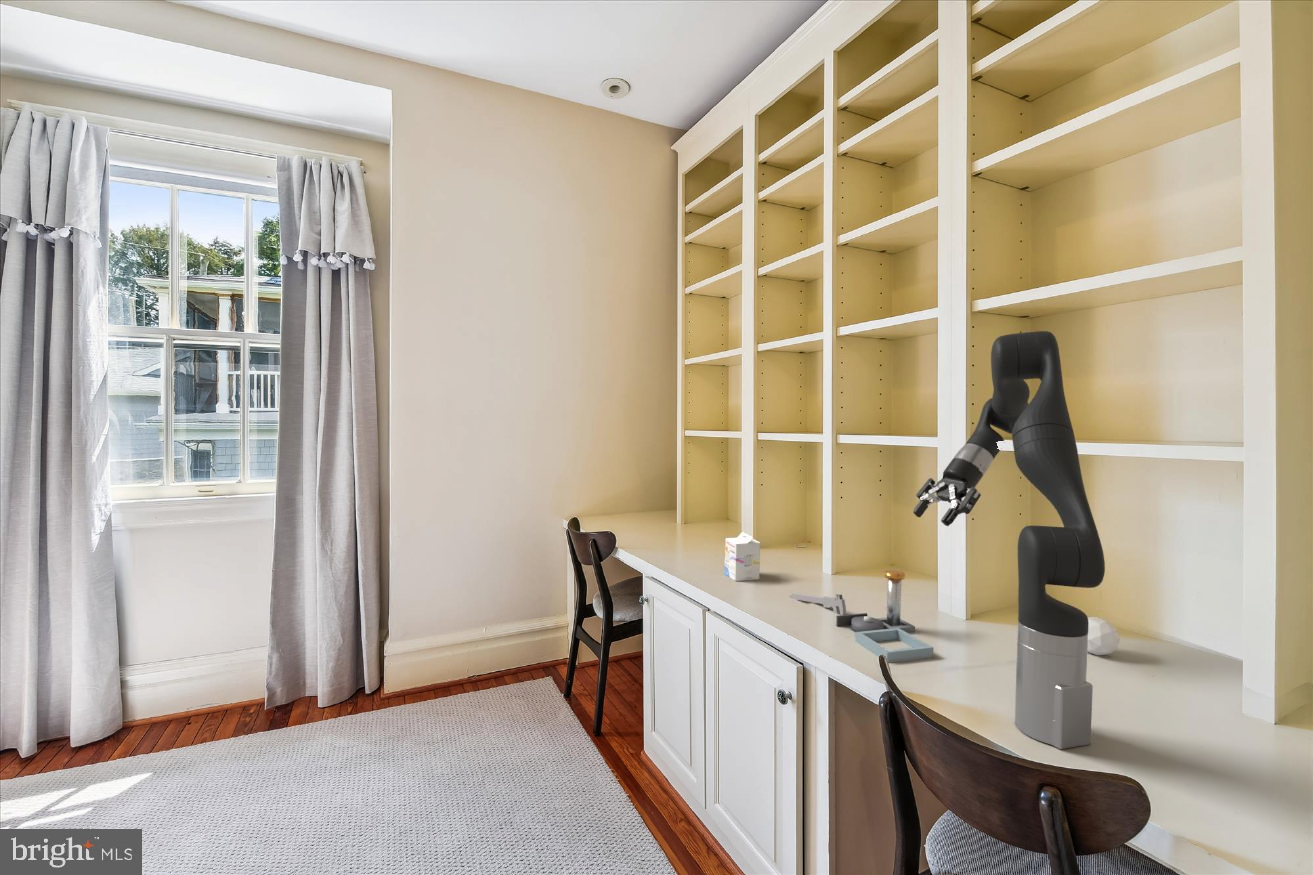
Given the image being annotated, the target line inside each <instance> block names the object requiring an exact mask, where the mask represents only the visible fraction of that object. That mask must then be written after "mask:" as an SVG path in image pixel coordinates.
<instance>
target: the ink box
mask: <svg viewBox="0 0 1313 875" xmlns="http://www.w3.org/2000/svg"><path fill="white" fill-rule="evenodd" d="M760 559H761V542H760V541H758V540H756V539H754V538H753V536H751V535H750V534H747V533H746V532H743V531H742V532H741V533H740V534H739V535H738V536H737V537H726V538H725V547H724V575H725V576H727V577H729V578H730V579H731V580H733V581H735V582H741V581H743V582H744V581H755V580H760V566H761V565H760V562H761V560H760Z"/></svg>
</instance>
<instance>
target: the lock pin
mask: <svg viewBox="0 0 1313 875" xmlns="http://www.w3.org/2000/svg"><path fill="white" fill-rule="evenodd" d="M884 578H886V579H887V586H886V587H887V589H886V590H887V591H886V597H887V598H886V617H887V624H888V625H890V626H891V627H892V626H900V619H902V618H901V615H902V614H901V613H902V612H901V611H902V609H901V608H902V580H905V579H906V574H905V572H903V571H899V570H891V569H890V570H885V571H884Z"/></svg>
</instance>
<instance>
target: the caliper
mask: <svg viewBox="0 0 1313 875" xmlns="http://www.w3.org/2000/svg"><path fill="white" fill-rule="evenodd" d="M789 597H790V598H792V599H794V600H796V599H797V601H803V602H809V603H815V604H821V605H823V608H830V609H831V608H832V609H833V613H834V614H836V615H837V614H839V615H847V606H846V602H845V599H844V598H843V593H842V594H839V593H836V594H835V596H834V597H833V596H815V595H810V594H809V595H808V594H802V593H801V594H800V593H797V592H795V593H792V594H789Z"/></svg>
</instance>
